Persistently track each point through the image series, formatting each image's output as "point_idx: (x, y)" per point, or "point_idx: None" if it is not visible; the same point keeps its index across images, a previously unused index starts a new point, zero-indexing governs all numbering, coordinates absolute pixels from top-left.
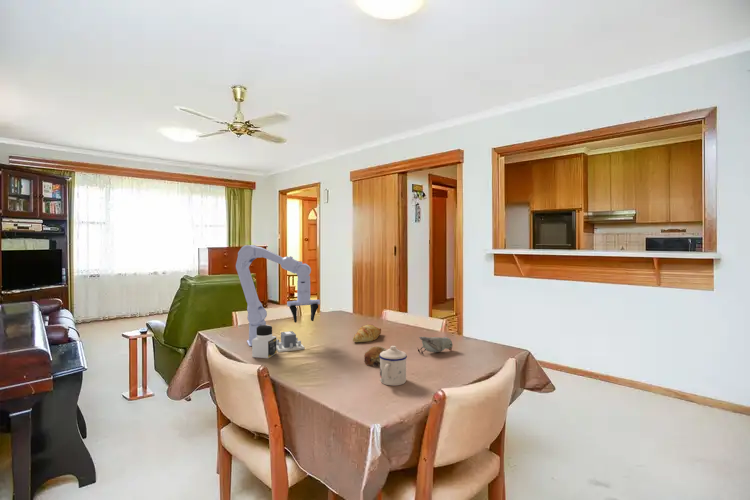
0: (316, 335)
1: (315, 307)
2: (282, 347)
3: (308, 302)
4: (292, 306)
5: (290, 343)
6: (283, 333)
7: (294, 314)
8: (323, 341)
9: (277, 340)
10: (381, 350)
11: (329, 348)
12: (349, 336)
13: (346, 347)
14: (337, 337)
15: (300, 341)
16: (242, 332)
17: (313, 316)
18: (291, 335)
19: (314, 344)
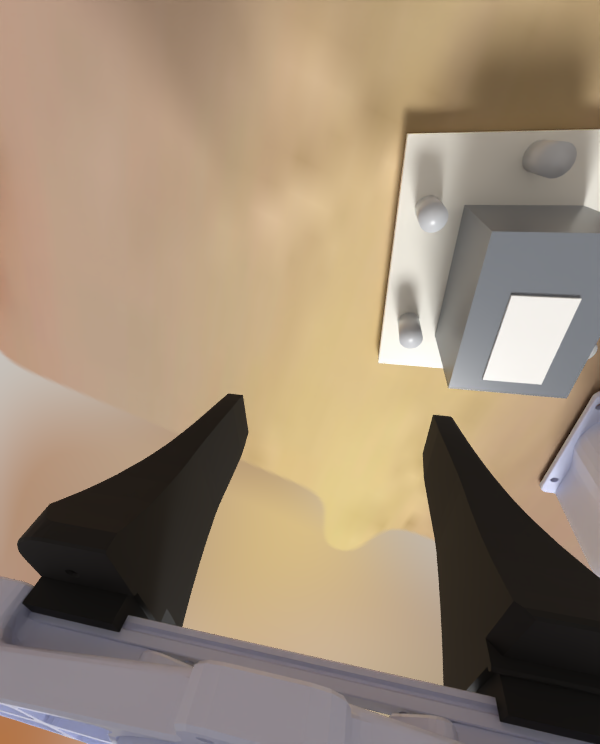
0: None
1: (93, 515)
2: None
3: (176, 701)
4: (582, 699)
5: (566, 161)
6: (580, 345)
7: (503, 500)
8: (211, 299)
9: None
10: None
11: (187, 50)
12: (49, 334)
13: (34, 16)
14: (119, 345)
15: (430, 203)
16: None
17: (206, 424)
18: (551, 232)
19: (286, 250)
